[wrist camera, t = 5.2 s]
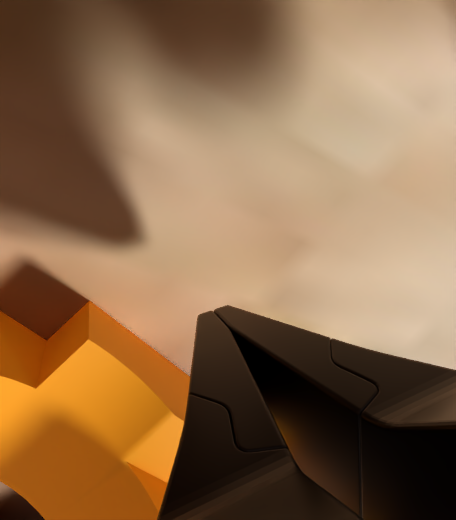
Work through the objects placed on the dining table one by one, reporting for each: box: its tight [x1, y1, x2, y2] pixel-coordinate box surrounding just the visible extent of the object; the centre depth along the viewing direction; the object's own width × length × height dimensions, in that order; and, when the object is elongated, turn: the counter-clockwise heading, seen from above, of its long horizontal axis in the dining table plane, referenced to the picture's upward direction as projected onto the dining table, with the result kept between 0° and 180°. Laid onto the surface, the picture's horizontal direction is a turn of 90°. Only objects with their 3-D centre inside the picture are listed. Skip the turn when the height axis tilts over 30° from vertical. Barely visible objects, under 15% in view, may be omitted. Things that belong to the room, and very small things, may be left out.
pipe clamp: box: [0, 301, 190, 520], centre depth 8 cm, size 12×4×6 cm, turn 39°
